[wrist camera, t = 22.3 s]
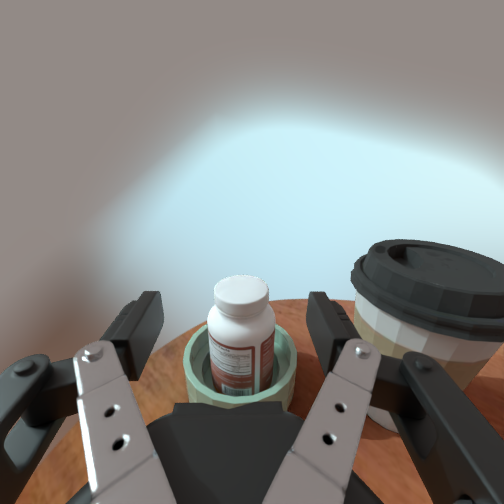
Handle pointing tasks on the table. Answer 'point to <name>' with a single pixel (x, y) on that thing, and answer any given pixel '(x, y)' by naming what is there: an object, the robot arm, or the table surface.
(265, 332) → the pill bottle
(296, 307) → the table surface
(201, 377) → the bowl
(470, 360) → the coffee cup
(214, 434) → the robot arm
